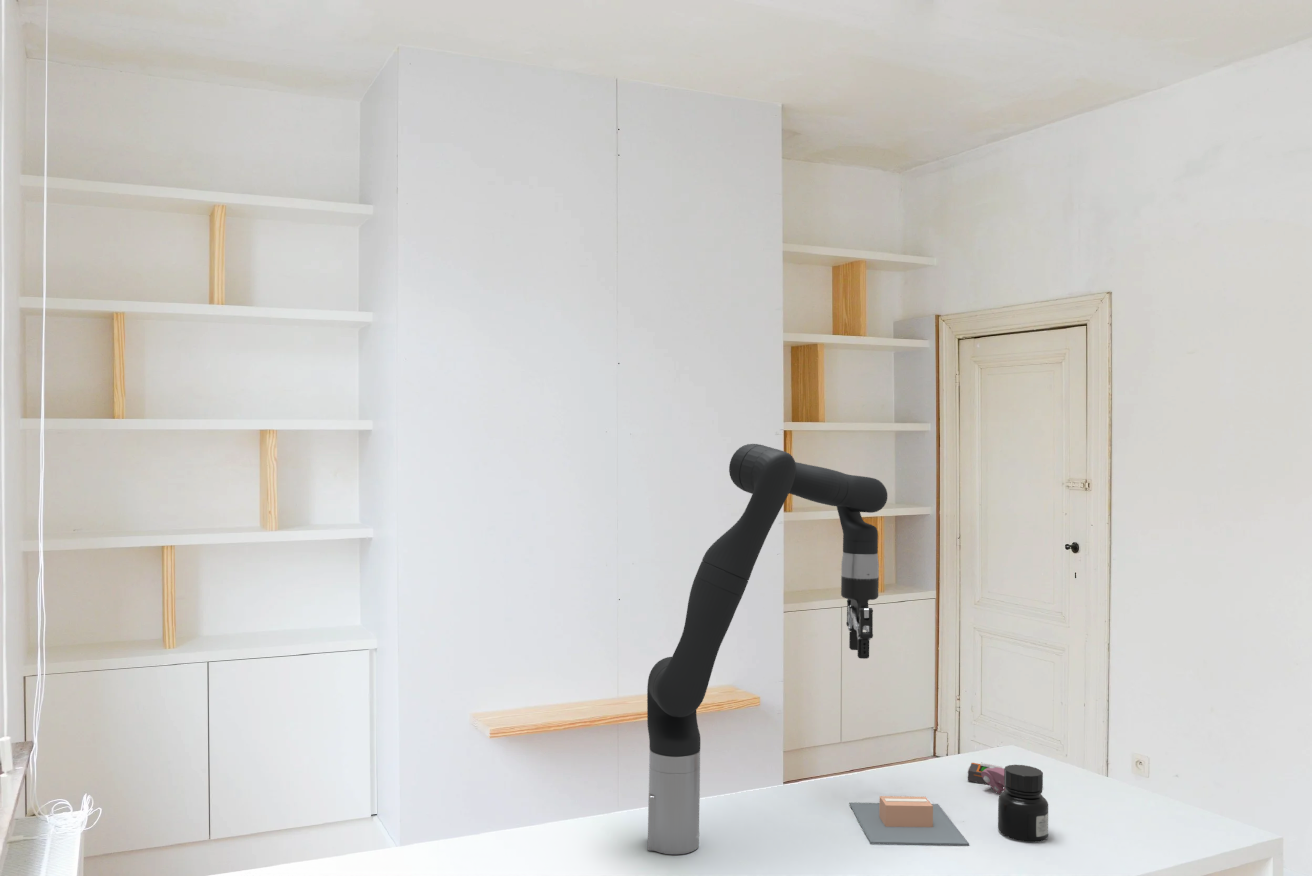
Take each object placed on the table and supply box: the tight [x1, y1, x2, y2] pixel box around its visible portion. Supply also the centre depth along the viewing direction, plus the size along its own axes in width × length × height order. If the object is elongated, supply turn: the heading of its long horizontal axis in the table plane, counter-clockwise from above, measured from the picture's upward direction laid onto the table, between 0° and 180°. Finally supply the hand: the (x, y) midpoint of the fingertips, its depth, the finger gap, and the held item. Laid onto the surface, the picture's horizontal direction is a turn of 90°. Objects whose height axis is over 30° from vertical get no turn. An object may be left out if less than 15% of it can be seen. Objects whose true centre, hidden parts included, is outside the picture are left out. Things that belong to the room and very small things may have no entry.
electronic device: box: [967, 762, 1004, 788], centre depth 212 cm, size 7×3×15 cm
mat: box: [848, 801, 970, 847], centre depth 187 cm, size 18×20×1 cm
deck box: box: [879, 795, 933, 827], centre depth 187 cm, size 5×9×4 cm, turn 90°
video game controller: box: [981, 766, 1005, 795], centre depth 204 cm, size 10×5×7 cm, turn 28°
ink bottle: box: [997, 764, 1049, 843], centre depth 183 cm, size 10×9×12 cm
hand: (858, 653), depth 200 cm, fingers open, 8 cm apart
